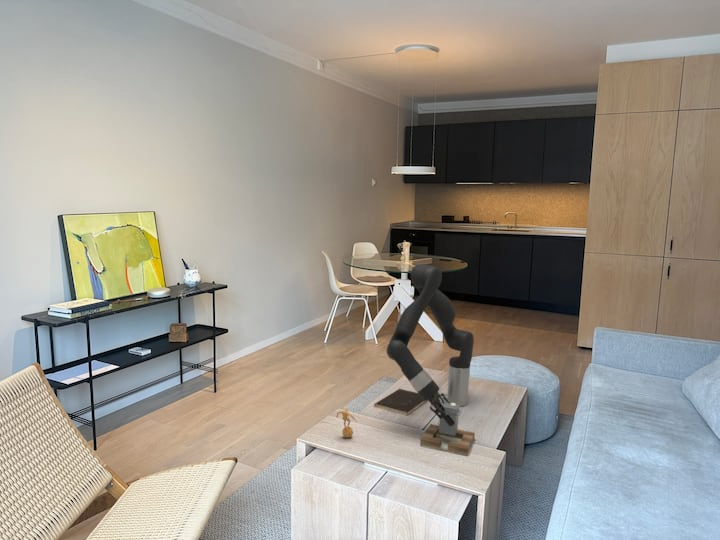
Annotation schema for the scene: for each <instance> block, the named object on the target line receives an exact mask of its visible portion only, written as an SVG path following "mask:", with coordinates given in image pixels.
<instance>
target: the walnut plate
mask: <svg viewBox="0 0 720 540" xmlns="http://www.w3.org/2000/svg"><path fill="white" fill-rule="evenodd" d="M475 434H476V433H475V432H474V431H468V430H463V429H459V428H458V429H457V433H456V435H455V436H453V435H448V434H443V433H439V424H432V423H429V426H428V427H427V428H426V431H424V433H423V435H422V436H421V438H420V439H419V446H420V447H424V448H428V449H433V450H437V451H442V452H446V453H451V454H457V455H461V456H466V457H468V455H469V454H470V453H469V452H470V450H471V447H472V446H473V443H474V441H475Z"/></svg>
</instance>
